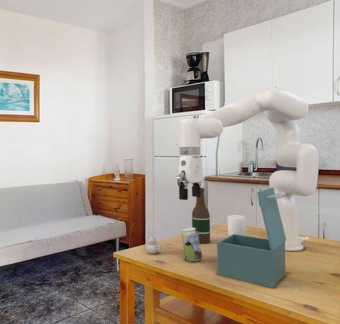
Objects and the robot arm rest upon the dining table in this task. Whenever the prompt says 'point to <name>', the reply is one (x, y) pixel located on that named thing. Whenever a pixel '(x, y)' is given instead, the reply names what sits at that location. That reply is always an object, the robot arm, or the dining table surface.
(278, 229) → the teal box lid
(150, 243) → the white figurine
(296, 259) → the dining table surface
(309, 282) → the dining table surface
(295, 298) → the dining table surface
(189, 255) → the beverage can
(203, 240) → the beer bottle
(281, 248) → the teal rectangular box
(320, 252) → the dining table surface
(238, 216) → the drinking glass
